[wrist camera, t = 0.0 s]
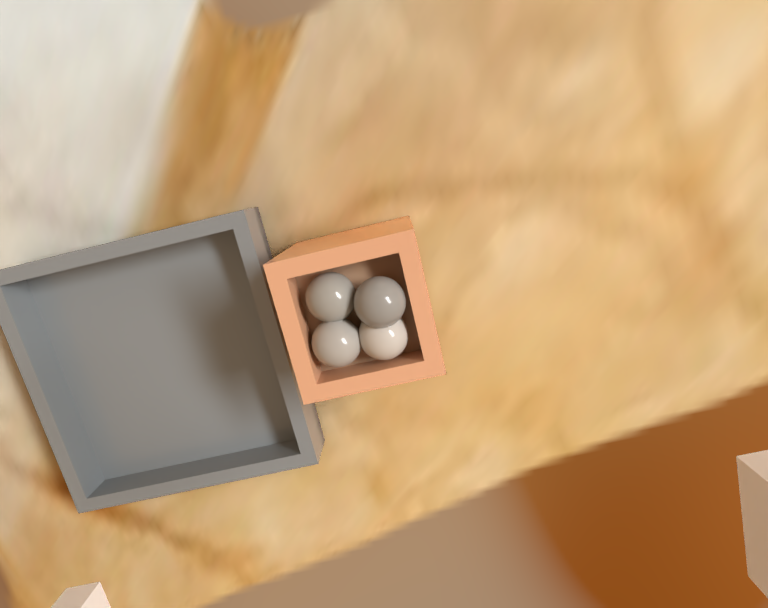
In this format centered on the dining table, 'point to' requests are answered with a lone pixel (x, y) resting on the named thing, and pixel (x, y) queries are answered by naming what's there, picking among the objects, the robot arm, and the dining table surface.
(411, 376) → the peach box
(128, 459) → the slate dish
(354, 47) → the dining table surface
